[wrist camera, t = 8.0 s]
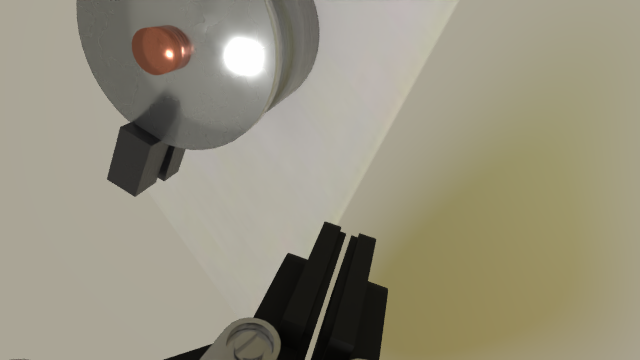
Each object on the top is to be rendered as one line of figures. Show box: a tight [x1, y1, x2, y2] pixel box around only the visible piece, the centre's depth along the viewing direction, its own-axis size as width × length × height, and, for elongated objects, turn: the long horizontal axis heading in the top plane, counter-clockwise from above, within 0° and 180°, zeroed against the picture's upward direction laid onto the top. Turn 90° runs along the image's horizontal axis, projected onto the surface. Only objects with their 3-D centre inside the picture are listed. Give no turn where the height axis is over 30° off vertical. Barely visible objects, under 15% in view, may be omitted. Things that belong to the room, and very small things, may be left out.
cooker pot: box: [158, 0, 319, 181], centre depth 36 cm, size 26×16×12 cm, turn 152°
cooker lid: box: [77, 0, 282, 196], centre depth 29 cm, size 22×17×4 cm
